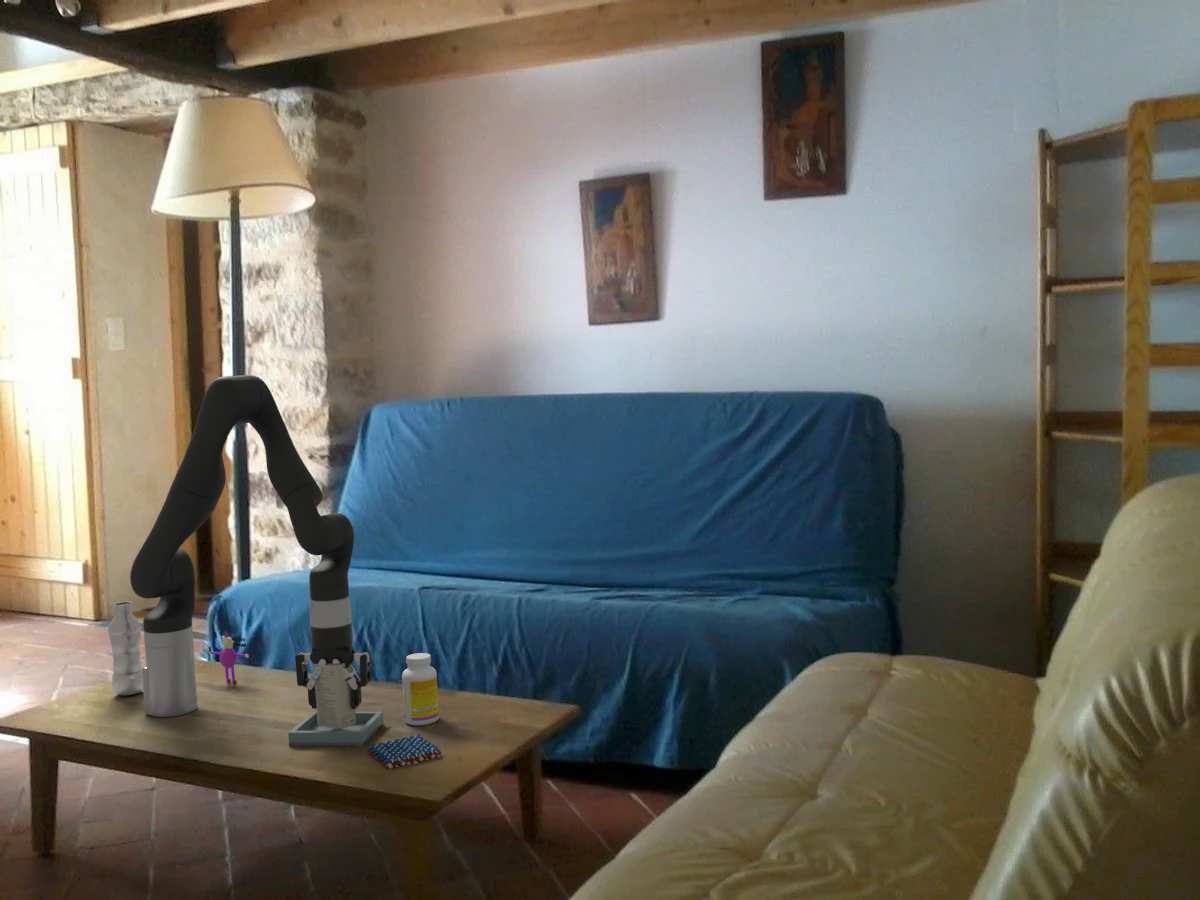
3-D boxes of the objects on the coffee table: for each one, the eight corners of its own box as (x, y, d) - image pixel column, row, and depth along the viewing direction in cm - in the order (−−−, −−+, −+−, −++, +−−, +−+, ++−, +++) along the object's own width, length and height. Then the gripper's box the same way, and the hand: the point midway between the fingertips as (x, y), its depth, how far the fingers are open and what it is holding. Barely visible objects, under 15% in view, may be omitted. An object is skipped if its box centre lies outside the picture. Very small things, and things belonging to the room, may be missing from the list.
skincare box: (356, 723, 203) (353, 660, 202) (339, 730, 199) (336, 666, 198) (332, 718, 206) (329, 656, 205) (315, 726, 202) (311, 662, 201)
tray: (289, 745, 197) (288, 732, 197) (313, 724, 209) (313, 711, 209) (362, 746, 196) (362, 732, 195) (383, 724, 208) (382, 711, 207)
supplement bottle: (446, 720, 209) (443, 655, 208) (418, 729, 204) (415, 662, 203) (424, 713, 213) (421, 649, 212) (397, 722, 209) (394, 657, 208)
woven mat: (444, 759, 189) (443, 747, 189) (386, 773, 183) (386, 761, 183) (421, 742, 198) (420, 732, 198) (365, 755, 192) (365, 744, 192)
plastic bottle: (138, 698, 230) (132, 606, 229) (107, 699, 230) (100, 607, 229) (151, 689, 237) (145, 599, 235) (120, 690, 237) (114, 600, 235)
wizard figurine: (254, 683, 239) (251, 630, 238) (244, 687, 236) (241, 633, 235) (215, 679, 243) (211, 626, 242) (205, 683, 240) (201, 630, 239)
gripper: (286, 626, 198) (290, 714, 199) (361, 626, 196) (365, 714, 197) (301, 616, 205) (306, 701, 207) (374, 616, 204) (378, 701, 205)
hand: (335, 707), depth 202 cm, fingers closed on skincare box, 7 cm apart
